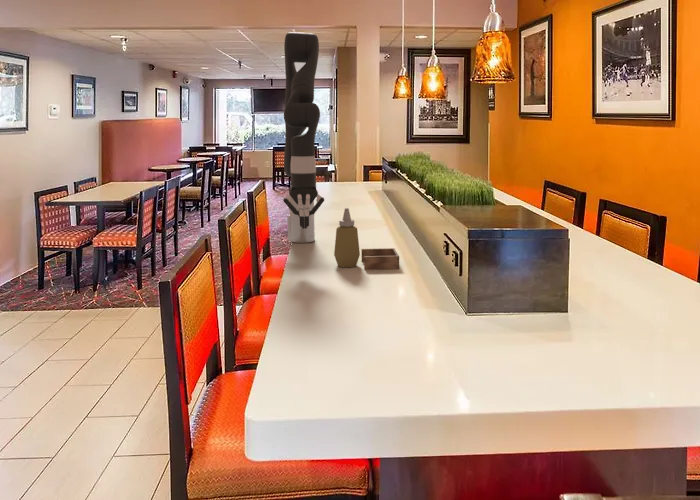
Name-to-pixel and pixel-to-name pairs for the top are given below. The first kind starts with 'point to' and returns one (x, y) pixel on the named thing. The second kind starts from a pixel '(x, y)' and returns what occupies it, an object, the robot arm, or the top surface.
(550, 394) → the top surface
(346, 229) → the squeeze bottle
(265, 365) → the top surface
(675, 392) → the top surface
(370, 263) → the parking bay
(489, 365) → the top surface
